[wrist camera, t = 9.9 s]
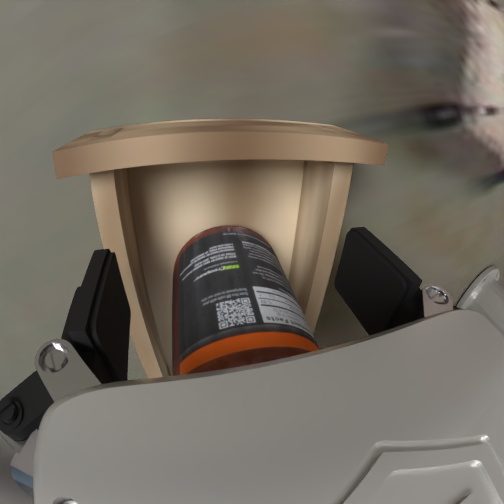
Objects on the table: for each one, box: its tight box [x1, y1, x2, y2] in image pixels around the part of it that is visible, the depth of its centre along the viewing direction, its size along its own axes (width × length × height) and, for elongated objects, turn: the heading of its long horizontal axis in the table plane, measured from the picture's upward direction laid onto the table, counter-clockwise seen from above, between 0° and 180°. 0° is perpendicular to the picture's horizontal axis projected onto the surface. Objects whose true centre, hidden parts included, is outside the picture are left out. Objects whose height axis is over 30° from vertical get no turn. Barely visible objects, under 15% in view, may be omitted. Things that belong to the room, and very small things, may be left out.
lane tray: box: [53, 119, 388, 378], centre depth 17 cm, size 13×24×5 cm, turn 177°
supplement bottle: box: [172, 225, 319, 376], centre depth 11 cm, size 6×6×11 cm
